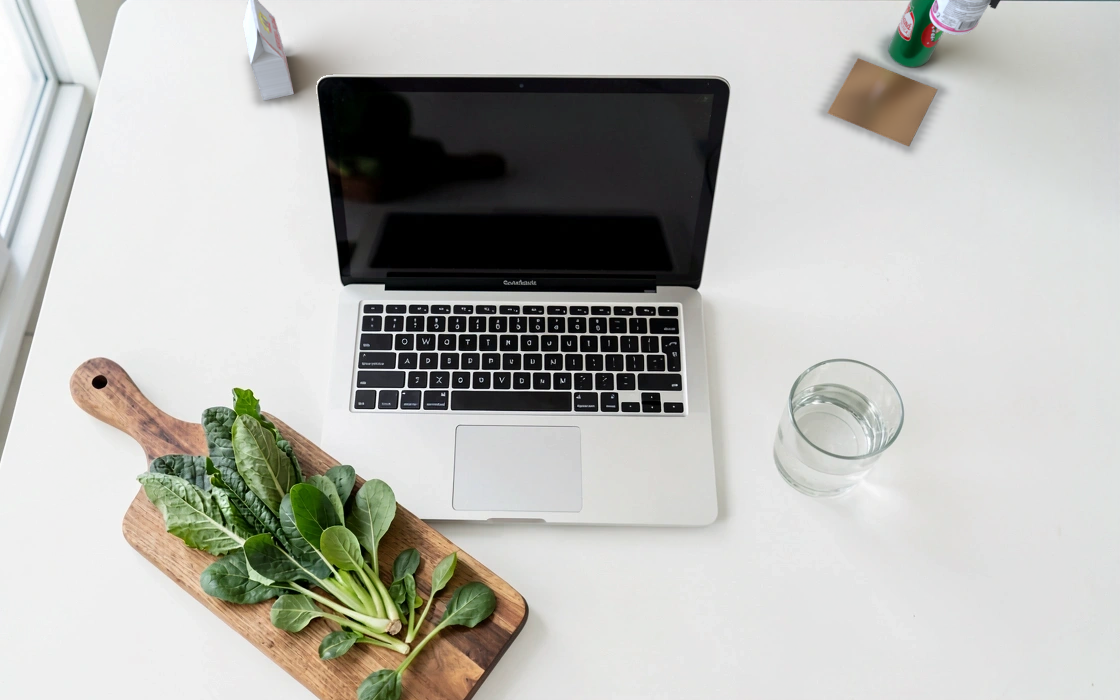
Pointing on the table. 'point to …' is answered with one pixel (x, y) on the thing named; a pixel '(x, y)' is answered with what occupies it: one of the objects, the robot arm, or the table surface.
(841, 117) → the coaster
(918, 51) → the soda can
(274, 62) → the milk carton
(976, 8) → the pill bottle
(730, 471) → the table surface
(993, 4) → the robot arm
